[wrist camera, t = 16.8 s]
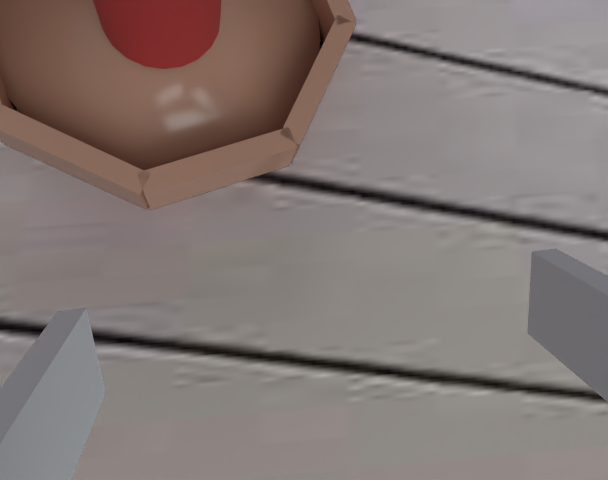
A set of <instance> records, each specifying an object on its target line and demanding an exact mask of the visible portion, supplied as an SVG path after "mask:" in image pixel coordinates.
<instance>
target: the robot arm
mask: <svg viewBox="0 0 608 480" xmlns="http://www.w3.org/2000/svg"><path fill="white" fill-rule="evenodd" d="M528 334H529V335H530V336H532V337H533V338H534V339H535V340H536V341H537V342H539V343H540V344H541V345H542V346H543V347H544V348H545V349H547V350H548V351H549V352H550V353H551V354H552V355H554V356H555V357H556V358H557V359H558V360H559V361H561V362H562V363H563V364H564V365H565V366H566V367H568V368H569V369H570V370H571V371H572V372H573V373H575V374H576V375H577V376H578V377H579V378H580V379H582V380H583V381H584V382H585V383H586V384H587V385H589V386H590V387H591V388H592V389H593V390H594V391H596V392H597V393H598V394H599V395H600V396H601V397H603V398H604V399H605V400H606V401H607V402H608V276H607V275H605V274H603V273H601V272H599V271H597V270H595V269H593V268H592V267H590V266H588V265H586V264H584V263H582V262H580V261H578V260H576V259H574V258H572V257H571V256H569V255H567V254H565V253H563V252H561V251H559V250H557V249H549V250H541V251H533V252H532V258H531V277H530V295H529V314H528ZM105 394H106V392H105V388H104V383H103V379H102V375H101V370H100V366H99V361H98V357H97V353H96V348H95V344H94V340H93V335H92V331H91V326H90V322H89V318H88V313H87V309H86V308H81V309H73V310H66V311H58V312H57V313H56V315H55V316H54V317H53V319H52V320H51V321H50V323H49V324H48V325H47V327H46V328H45V329H44V331H43V332H42V333H41V335H40V336H39V337H38V339H37V340H36V341H35V343H34V344H33V345H32V347H31V348H30V349H29V351H28V352H27V353H26V355H25V356H24V357H23V359H22V360H21V361H20V363H19V364H18V365H17V367H16V368H15V369H14V371H13V372H12V373H11V375H10V376H9V377H8V379H7V380H6V381H5V383H4V384H3V385H2V387H1V388H0V480H71V479H72V476H73V474H74V471H75V469H76V466H77V464H78V461H79V459H80V456H81V454H82V451H83V449H84V446H85V444H86V441H87V439H88V436H89V434H90V431H91V429H92V426H93V424H94V421H95V419H96V416H97V414H98V411H99V409H100V406H101V404H102V401H103V399H104V396H105Z"/></svg>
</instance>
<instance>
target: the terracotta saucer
mask: <svg viewBox="0 0 608 480" xmlns="http://www.w3.org/2000/svg"><path fill="white" fill-rule="evenodd" d="M355 22H356V18H355V16H354V14H353V11H352V9H351V7H350V4H349V2H348V0H221V18H220V27H219V33H218V35H217V37H216V39H215V41H214V43H213V45H212V47H211V48H210V49H209V50H208V51H207V52H206V53H204V54H203V55H202V56H201V57H200V58H199V59H198V60H196V61H193V62H191V63H189V64H187V65H185V66H183V67H176V68H169V69H159V68H153V67H146V66H143V65H141V64H139V63H137V62H134V61H132V60H130V59H128V58H126V57H125V56H124V55H123V54H121V53H120V52H119V51H118V50H117V49H116V48H115V47H113V46H112V44H111V43H110V41H109V39H108V38H107V36H106V35H105V33H104V31H103V29H102V26H101V23H100V20H99V17H98V14H97V11H96V8H95V5H94V2H93V0H0V141H1V142H2V143H3V144H4V145H6V146H9V147H11V148H13V149H15V150H17V151H20V152H22V153H24V154H26V155H28V156H30V157H33V158H35V159H37V160H39V161H41V162H43V163H46V164H48V165H50V166H52V167H54V168H57V169H59V170H61V171H63V172H65V173H67V174H70V175H72V176H74V177H76V178H78V179H81V180H83V181H85V182H87V183H89V184H91V185H94V186H96V187H98V188H100V189H102V190H104V191H107V192H109V193H111V194H113V195H115V196H118V197H120V198H122V199H124V200H126V201H128V202H131V203H133V204H135V205H137V206H139V207H142V208H144V209H146V210H147V208H148V206H149V207H150V209H151V210H153V209H156V208H159V207H162V206H165V205H168V204H171V203H174V202H178V201H181V200H184V199H187V198H190V197H193V196H196V195H199V194H202V193H206V192H209V191H212V190H215V189H218V188H221V187H224V186H227V185H231V184H234V183H237V182H240V181H243V180H246V179H249V178H252V177H255V176H259V175H262V174H265V173H268V172H271V171H274V170H277V169H280V168H284V167H287V166H289V164H290V163H292V161H293V159H294V157H295V155H296V153H297V150H298V148H299V146H300V144H301V142H302V140H303V138H304V135H305V133H306V131H307V129H308V127H309V125H310V123H311V120H312V118H313V116H314V114H315V112H316V110H317V108H318V105H319V103H320V101H321V99H322V97H323V95H324V93H325V90H326V88H327V86H328V84H329V82H330V80H331V78H332V76H333V73H334V71H335V69H336V67H337V65H338V63H339V61H340V58H341V56H342V54H343V52H344V50H345V48H346V45H347V43H348V41H349V39H350V37H351V35H352V32H353V30H354V28H355V26H356V23H355ZM320 40H321V43H322V45H323V46H322V48H321V50H320V52H319V47H320ZM16 108H17V109H18V110H19V111H20V113H19V112H17V109H16Z"/></svg>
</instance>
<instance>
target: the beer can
mask: <svg viewBox="0 0 608 480" xmlns="http://www.w3.org/2000/svg"><path fill="white" fill-rule="evenodd" d="M93 2H94V5H95V8H96V11H97V14H98V17H99V20H100V23H101V26H102V29H103V31H104V33H105V35H106V36H107V38H108V39H109V41H110V43H111V44H112V46H113V47H115V48H116V49H117V50H118V51H119V52H120V53H121V54H123V55H124V56H125V57H126V58H128V59H130V60H132V61H134V62H137V63H139V64H141V65H143V66H146V67H153V68H159V69H169V68H176V67H183V66H185V65H187V64H189V63H191V62H193V61H196V60H198V59H199V58H200V57H201V56H202V55H203V54H204V53H206V52H207V51H208V50H209V49H210V48H211V47H212V45H213V43H214V41H215V39H216V37H217V35H218V33H219V27H220V18H221V0H93Z"/></svg>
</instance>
